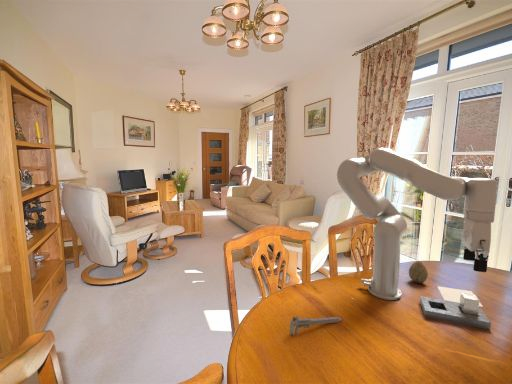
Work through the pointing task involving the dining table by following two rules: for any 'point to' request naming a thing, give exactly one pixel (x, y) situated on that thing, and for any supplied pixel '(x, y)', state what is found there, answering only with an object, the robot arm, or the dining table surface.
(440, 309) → the block with square recesses
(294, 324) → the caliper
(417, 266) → the decorative egg
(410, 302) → the dining table surface
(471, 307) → the steel block
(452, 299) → the tile
